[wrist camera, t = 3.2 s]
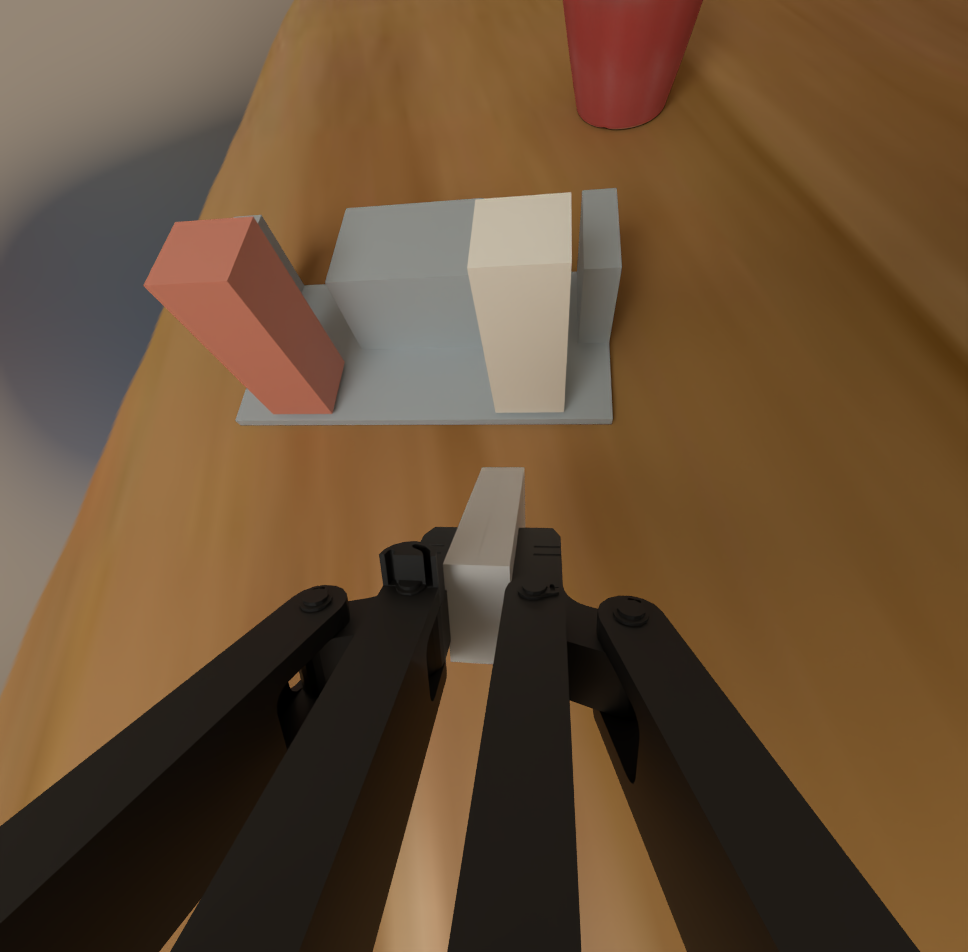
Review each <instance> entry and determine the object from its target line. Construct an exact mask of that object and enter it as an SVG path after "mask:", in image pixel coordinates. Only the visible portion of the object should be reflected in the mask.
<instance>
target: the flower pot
mask: <svg viewBox="0 0 968 952" xmlns="http://www.w3.org/2000/svg"><path fill="white" fill-rule="evenodd" d="M702 1H703V0H563V5H564V13H565V21H566V30H567V38H568V47H569V55H570V63H571V70H572V78H573V85H574V92H575V99H576V106H577V111H578V114H579V116H580V117H581V118H582V119H583V120H584V121H585V122H587V123H588V124H590V125H593V126H595V127H606V128H608V129H627V128H632V127H636V126H639V125H642V124H644V123H647V122H649V121H650V120H652V119H653V118H655V117H656V116H657V115H658V114H659V113H660V112H661V111H662V109H663V108H664V106H665V103H666V101H667V98H668V95H669V92H670V90H671V87H672V85H673V82H674V80H675V77H676V74H677V71H678V69H679V66H680V63H681V61H682V58H683V55H684V53H685V50H686V47H687V44H688V42H689V39H690V36H691V33H692V30H693V27H694V25H695V22H696V19H697V16H698V13H699V10H700V7H701V4H702Z"/></svg>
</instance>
